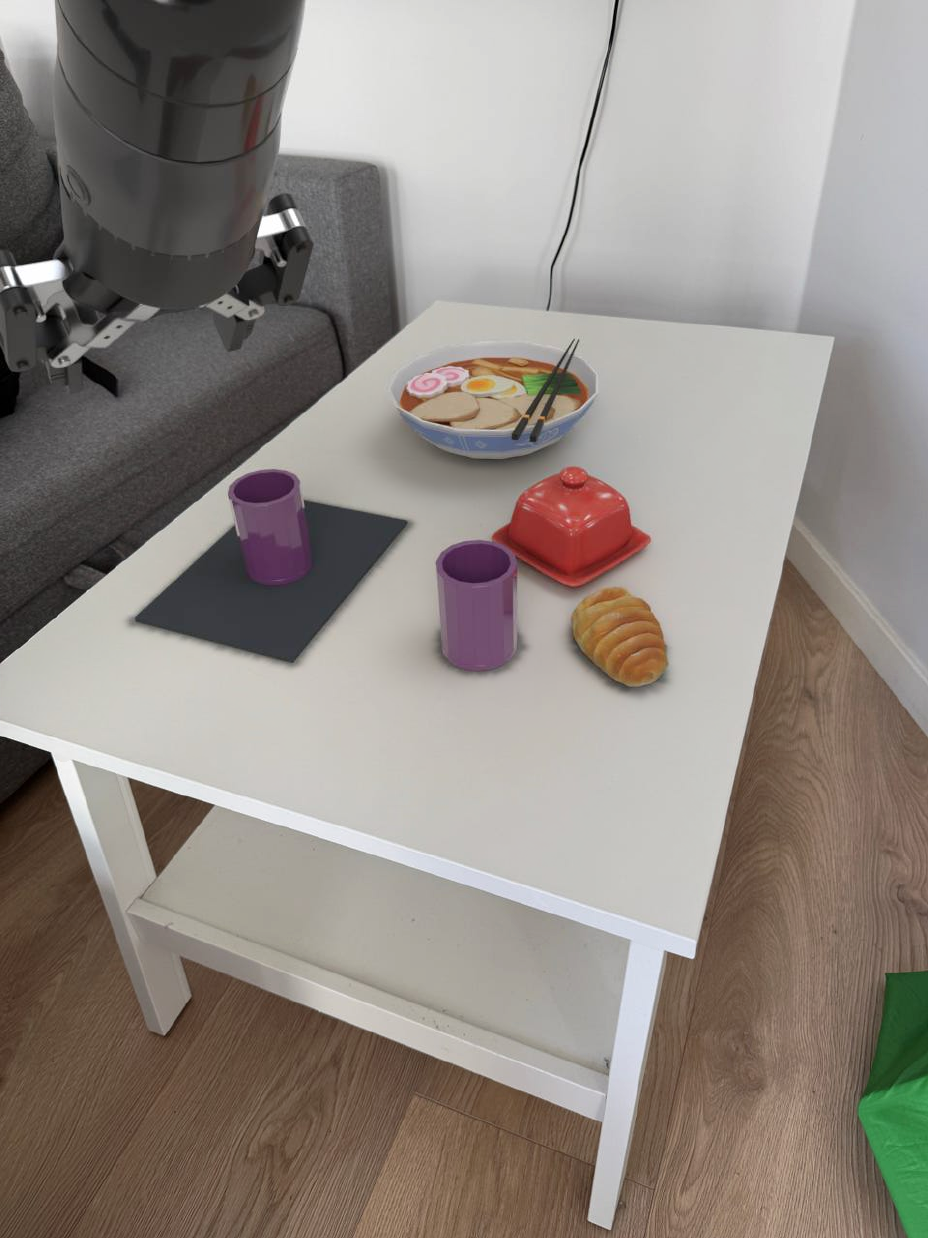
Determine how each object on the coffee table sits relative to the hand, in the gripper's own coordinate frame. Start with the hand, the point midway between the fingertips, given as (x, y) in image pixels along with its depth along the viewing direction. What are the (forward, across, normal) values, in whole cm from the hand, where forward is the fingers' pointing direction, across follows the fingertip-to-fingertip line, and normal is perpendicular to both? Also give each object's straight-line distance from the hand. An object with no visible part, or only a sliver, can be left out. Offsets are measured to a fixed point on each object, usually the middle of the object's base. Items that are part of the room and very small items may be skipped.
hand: (149, 355), depth 48 cm
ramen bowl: (+42, -41, +2) cm, 58 cm away
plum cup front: (+35, -11, +7) cm, 38 cm away
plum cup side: (+22, -20, +21) cm, 36 cm away
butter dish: (+26, -35, +17) cm, 47 cm away
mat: (+36, -11, +7) cm, 38 cm away
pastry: (+17, -30, +26) cm, 43 cm away
